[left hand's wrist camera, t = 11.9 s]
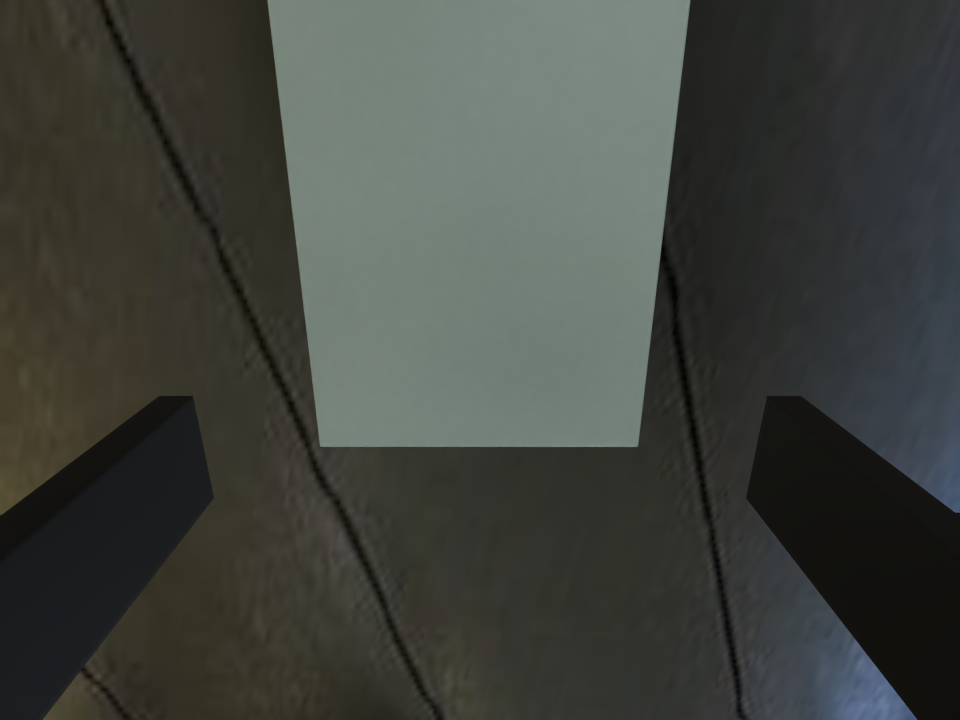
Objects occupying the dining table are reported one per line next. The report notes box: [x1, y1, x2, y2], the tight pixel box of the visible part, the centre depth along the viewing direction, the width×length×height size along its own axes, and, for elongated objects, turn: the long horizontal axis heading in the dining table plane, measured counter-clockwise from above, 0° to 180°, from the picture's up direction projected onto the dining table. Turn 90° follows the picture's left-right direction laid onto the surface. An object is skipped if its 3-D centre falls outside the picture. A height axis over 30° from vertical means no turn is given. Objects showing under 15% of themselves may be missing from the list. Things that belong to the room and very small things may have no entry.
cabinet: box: [267, 0, 690, 447], centre depth 21 cm, size 18×11×11 cm, turn 0°
